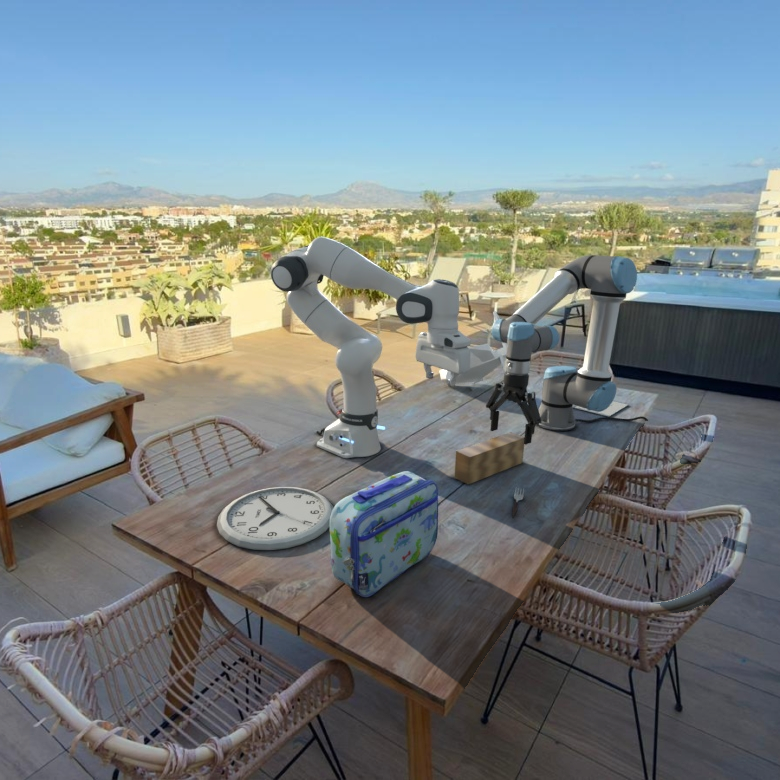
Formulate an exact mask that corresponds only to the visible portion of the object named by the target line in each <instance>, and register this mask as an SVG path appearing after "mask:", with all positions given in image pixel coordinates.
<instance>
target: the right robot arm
mask: <svg viewBox="0 0 780 780" xmlns="http://www.w3.org/2000/svg"><path fill="white" fill-rule="evenodd" d="M637 280H638V271H637V266H636V264H635V262H634V261H633V260H632V259H630V258H629V257H625V256H619V255H616V256H614V255H595V254H587V255H583V256H580V257H577V258H576V259H573V260H571V261H569V262H568V263H567V264H565V265H563V266H562V267H561V268H560V269H558V270H557V271H556V272H555V273H554V274H553V279H551V280H550V281H549V282H547V284H545V286H543V287H542V288H541V289H540V290H539V291H538V292H536V294H534V295H533V296H532V297H531V298H529V300H527V301H526V302H525V303H524V304H522V306H520V307H519V309H517V310H515V312H514V313H513V314H511V316H509V317H508V318H507V319H506V318H500V319H499V320H496V321H495V320H494V322H493V324H492V326H491V336H492V337H493V339H494V340H495V341H497V342H500V343H502V342H503V343H507V353H506V362H505V371H506V372H505V373H504V372H503V373H504V374H503V382H496V384H495V386H494V390H493V392H492V394H491V395H490V397H489V398H488V400H487V403H486V404H485V408H486V409H489V411H490V413H489V414H490V415H489V420H490V432H495V431H497V430H498V429H499V419H500V410H499V408H501V406H503V405H504V404H505V403H506V402H507V401H508V402H512V403H514V404H517V406H518V407H520V409H521V412H522V414H523V416H524V418H525V420H526V422H527V423H525V429H524V436H523V437H524V446H525V445H526V446H527V445H529V444H531V443H532V440H533V435H534V434H535V429H536V426H537V427H539V428H542V429H544V430H549V431H556V432H567V431H572V430H574V429H575V428H576V422H579V423H594V422H596V421H602V420H610V421H611V420H612V421H621V422H632V421H633V422H634V421H637V420H644V421H646V422H649V419H648V418H647V417H645V416H637V417H633V418H621V417H612V416H609V417H608V416H600V417H597V418H594V419H581V418H575V417H576V416H575V413H574V407H573V406H575V407H576V406H579V407H583V408H586V409H588V410H593V411H596V412H601V411H604V410H605V409H607V408H608V407H609V405H610V404H611V403H612V401H614V400H615V398H616V394H617V384H616V383H614V381H612V377H613V376H612V373H611V372H610V371H609V368H610V362H611V356H612V352H613V345H614V339H615V334H616V329H617V322H618V317H619V310H620V305H621V303H622V302H623V301H624V300H625V299H626V298H627V294H630V293H632V292H633V291H634V290H635V287H636V284H637ZM582 289H583V290H585V289H587V290H590V292H589V296H590V297H591V299H592V300H593V302H592V307H591V308H592V309H591V314H590V321H589V326H588V334H587V338H586V344H585V351H584V358H583V363H582V367H580V368H579V369H578V368H577V367H576V366H571V365H570V366H569V365H557V366H556V365H555V366H550V367H547V368H546V369H545V371H544V375H543V378H542V379H543V381H542V382H543V383H542V394H541V402H540V405H539V407H538V404H537V401H536V400H537V399H536V392H535V391H529V392H527V387H529V380H530V379H529V378H530V372H531V371H530V370H531V364H532V363H531V361H532V353H536V352H542V351H548V350H552V349H554V348H556V347H558V344H559V342H560V333H559V330H557V328H556V327H555V326H552V325H543V326H541V325H536V324H537V323H538V322H539V321H540V320H541V319H543V318H544V317H545V316H546V315H547V314H548V313H549V312H550V311H552V310H553V309H554V308H555V307H556V306H557V305H558V304H559V303H560V302H562V300H564V299H565V298H566V297H567V296H568V295H572V294H574V293H575V292H576V291H578V290H582ZM502 392H503V394H502ZM501 394H502V395H501ZM500 395H501V396H500ZM499 397H500V398H499ZM498 398H499V399H498Z"/></svg>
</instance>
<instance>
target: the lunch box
mask: <svg viewBox="0 0 780 780" xmlns="http://www.w3.org/2000/svg"><path fill="white" fill-rule="evenodd" d="M438 531H439V490H438V485H437V483H436V482H435V481H434V480H432V479H424V478H423V477H422V476H420V475H417V474H415V473H414V472H412V471H408V470H406V471H405V470H404V471H400V472H399V473H395V474H393V475H391V476H388V477H386V478H384V479H382V480H379V481H377V482H375V483H373V484H371V485H368V486H366V487H364V488H362V489H360V490H358V491H356V492H353V493H352V494H350V495H347V496H345V497H343V498H342V499H340V500H339V501H338V502H337V503H335V505H334V506H333V510H332V513H331V516H330V526H329V541H330V565H331V572H332V575H333V577H334V579H335V580H337V581H339V582H341V583H343V584H345V585H347V586H348V587H349V588H351V589H352V590H354V592H355V594H357V595H359V596H360V597H363V598H369V597H371V596H374V595H375V594H376V593H377V592H378V591H380V590H381V589H383V588H384V587H385V586H386V585H387V584H389V583H390V582H392V581H393V580H395V579H397V578H398V577H399V576H400V575H402V574H403V573H404V572H405V571H406V570H408V569H409V568H410V567H412V566H413V565H416V564H417V563H419V562H421V561H422V560H424V559H425V558H426V557H428V555H430V553H431V552H432V550H433V549H434V547H435V545H436V542H437V540H438Z"/></svg>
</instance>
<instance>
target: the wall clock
mask: <svg viewBox="0 0 780 780" xmlns="http://www.w3.org/2000/svg"><path fill="white" fill-rule="evenodd" d="M333 508H334V505H333V504H332V503H331V502H330V500H329V499H328V498H327V497H325V496H323V495H322V494H321V493H319V492H316V491H313V490H311V489H307V488H302V487H296V486H279V487H278V486H277V487H267V488H263V489H258V490H255V491H251V492H249V493H246V494H243V495H242V496H240V497H238V498H235V499H234V500H232V501H231V502H230V503H228V505H226V506H225V507H223V509H222V510H221V512H220V514H219V515H218V517H217V521H216V529H217V531H218V533H219V535H220V536H221V537H222V538H223V539H224V540H225V541H226V542H227V543H230V544H233V545H235V546H236V547H239V548H244V549H249V550H257V551H274V550H285V549H289V548H292V547H297V546H301V545H304V544H306V543H308V542H310V541H312V540H315V539H317V538H318V537H319V536H321V535H323V534H324V533H325V532H326V531H328V529H330V516H331V513H332V510H333Z"/></svg>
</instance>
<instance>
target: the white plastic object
mask: <svg viewBox="0 0 780 780" xmlns="http://www.w3.org/2000/svg"><path fill="white" fill-rule="evenodd" d="M492 315H493V319H494V322H495V321H496V320H499V319H501V318H500V315H499V314H498V312H497V311H496V310H495V311H492ZM501 345H502V347H500V348H498V349H496V350H495V349H493V348H492V347H491V346H490V344H489V343H488V342H487V343H483V344H479V345H473V346H467V347H468V348H469V350H470V355H471V356H470V370H469V371H468V372H467V373H465V374H459V376H458V377H457V379H456V381H455V385H458V384H467V383H468V384H469V383H473V384H477V383H480V382H482V381H484V378H485V377H486V376H487V375H489V374H490V373H492V372H494V371H495V370H496V369H497V368H499V367H500V366H502V370H503V373H505V372H506V371H505V362H506V353H507V343H503V342H501ZM438 372H439V376H440V381H442V383H443V384H444V385H445V386H449V385H448V380H449V379H450V378H451V376H452V375H451V372H450V371H447V370H444V369H441V368H440V370H439V371H438ZM528 387H529V386H527V392H530V390H529V388H528Z"/></svg>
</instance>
